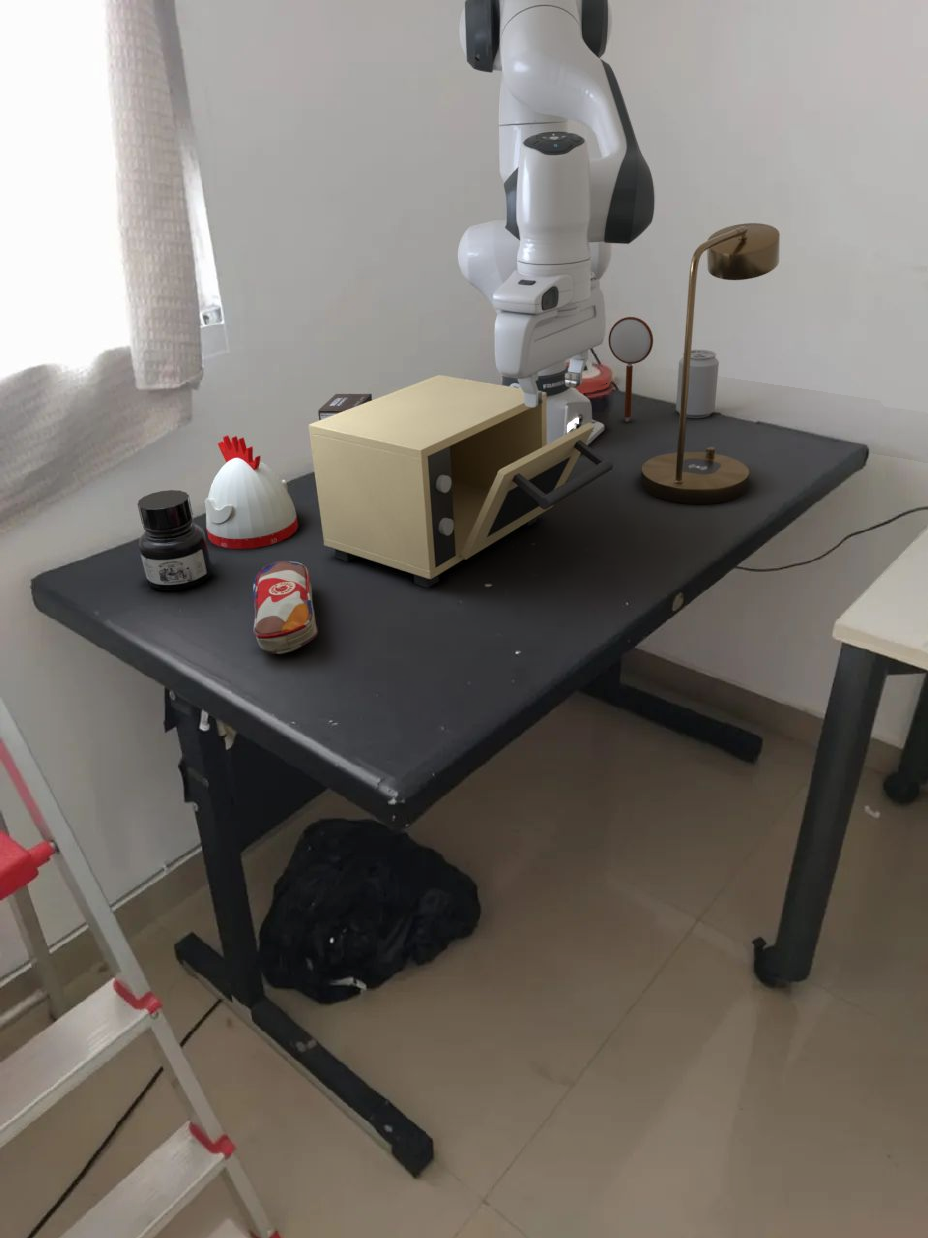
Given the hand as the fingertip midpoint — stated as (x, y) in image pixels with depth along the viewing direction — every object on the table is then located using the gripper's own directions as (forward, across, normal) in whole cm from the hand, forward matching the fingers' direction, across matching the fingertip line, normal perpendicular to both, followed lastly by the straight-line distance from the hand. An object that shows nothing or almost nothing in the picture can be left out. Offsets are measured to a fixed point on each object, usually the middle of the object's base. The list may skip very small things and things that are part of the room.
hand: (553, 395), depth 121 cm
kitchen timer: (+24, +16, -45) cm, 54 cm away
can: (+24, -70, -12) cm, 75 cm away
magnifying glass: (+24, -59, -21) cm, 67 cm away
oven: (+24, +3, -18) cm, 30 cm away
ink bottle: (+24, +33, -42) cm, 58 cm away
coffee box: (+24, -3, -41) cm, 48 cm away
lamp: (+24, -41, +4) cm, 47 cm away
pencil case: (+24, +33, -20) cm, 45 cm away
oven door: (+22, 0, -5) cm, 23 cm away
